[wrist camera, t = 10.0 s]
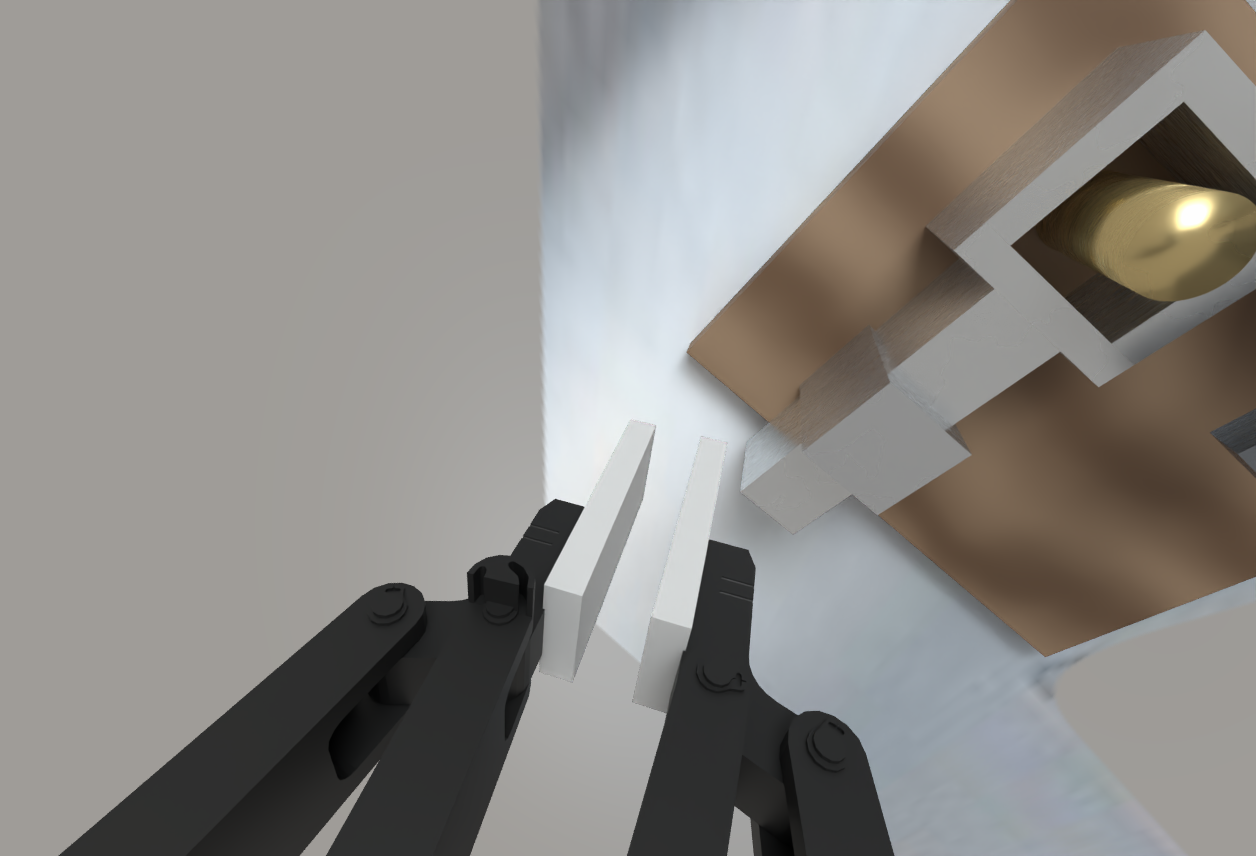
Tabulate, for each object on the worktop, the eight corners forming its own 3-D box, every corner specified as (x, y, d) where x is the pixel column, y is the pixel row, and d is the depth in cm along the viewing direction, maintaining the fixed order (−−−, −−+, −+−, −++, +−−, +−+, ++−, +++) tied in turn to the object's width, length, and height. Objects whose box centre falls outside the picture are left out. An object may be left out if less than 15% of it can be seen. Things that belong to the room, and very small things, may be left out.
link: (1117, 47, 17) (1250, 20, 12) (1253, 195, 18) (1431, 226, 13) (719, 418, 27) (703, 486, 22) (819, 501, 28) (825, 585, 23)
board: (1115, -113, 16) (1137, -128, 15) (1575, 422, 20) (1617, 438, 19) (690, 343, 27) (686, 352, 26) (1036, 639, 30) (1045, 657, 29)
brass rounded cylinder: (1080, 148, 20) (1219, 166, 13) (1130, 201, 20) (1289, 242, 14) (1006, 212, 21) (1099, 255, 15) (1054, 260, 21) (1164, 321, 15)
